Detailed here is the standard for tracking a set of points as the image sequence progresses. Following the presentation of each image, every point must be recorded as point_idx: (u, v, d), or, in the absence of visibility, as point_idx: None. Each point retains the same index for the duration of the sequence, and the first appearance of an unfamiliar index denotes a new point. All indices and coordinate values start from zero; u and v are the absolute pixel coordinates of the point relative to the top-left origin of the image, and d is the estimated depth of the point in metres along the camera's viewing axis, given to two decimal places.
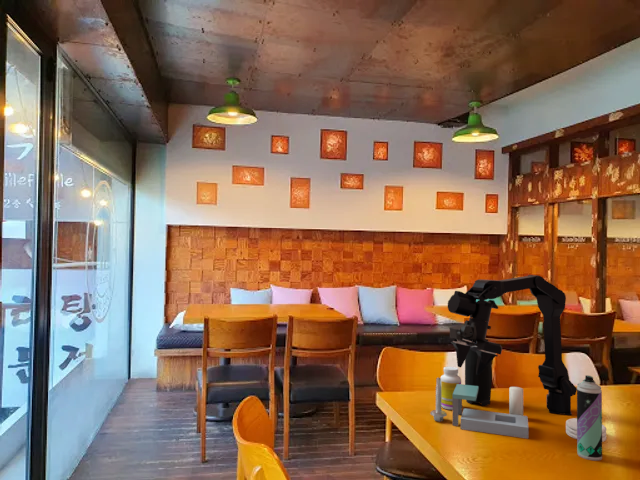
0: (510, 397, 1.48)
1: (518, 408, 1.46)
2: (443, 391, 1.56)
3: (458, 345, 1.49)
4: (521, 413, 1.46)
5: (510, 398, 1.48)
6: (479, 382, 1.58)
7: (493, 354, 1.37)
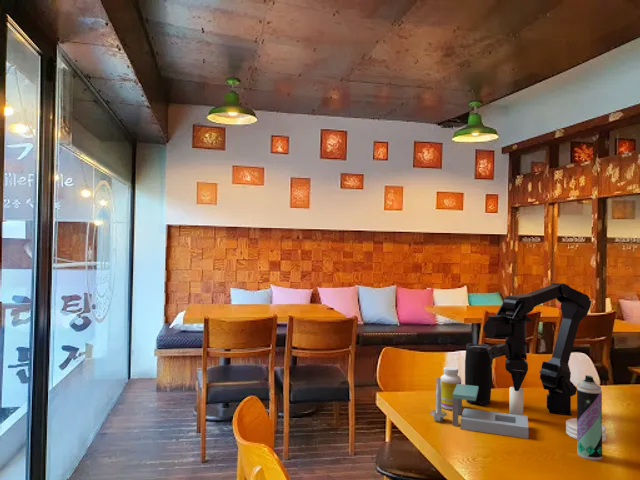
0: (510, 397, 1.48)
1: (518, 408, 1.46)
2: (443, 391, 1.56)
3: None
4: (521, 413, 1.46)
5: (510, 398, 1.48)
6: (479, 382, 1.58)
7: (521, 371, 1.40)
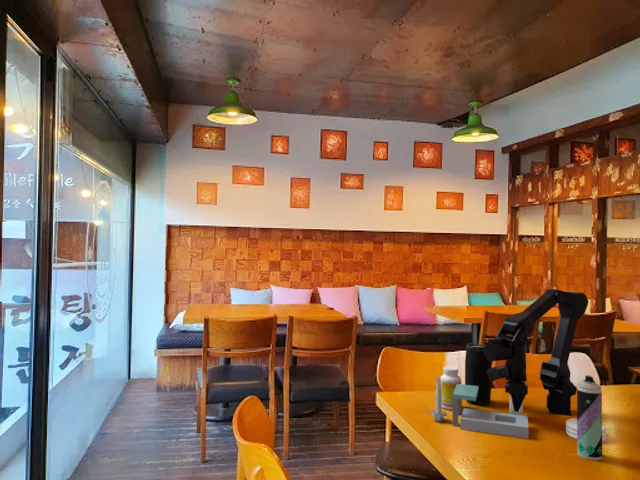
0: (510, 397, 1.48)
1: None
2: (443, 391, 1.56)
3: None
4: (521, 413, 1.46)
5: (510, 398, 1.48)
6: (479, 382, 1.58)
7: None
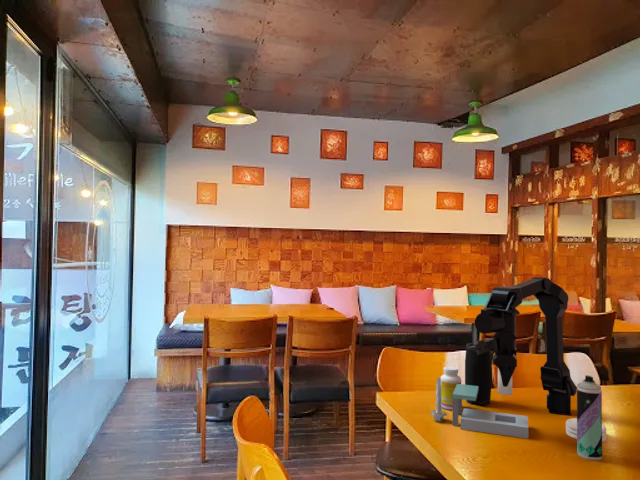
0: (498, 371, 1.38)
1: None
2: (443, 391, 1.56)
3: None
4: (510, 388, 1.36)
5: (498, 372, 1.38)
6: (479, 382, 1.58)
7: None
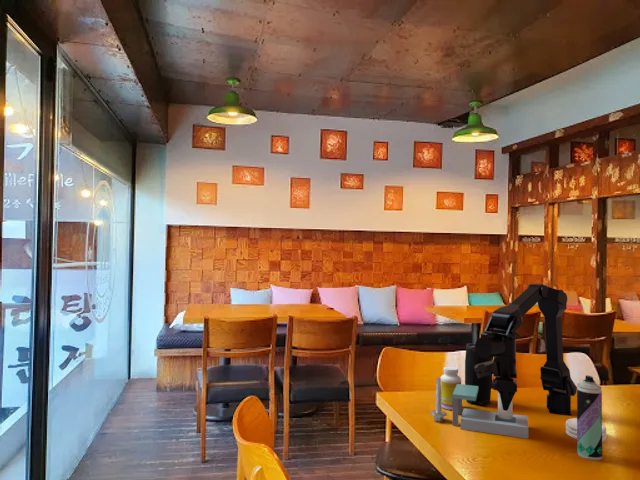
0: (499, 395, 1.38)
1: None
2: (443, 391, 1.56)
3: None
4: (510, 412, 1.36)
5: (499, 396, 1.38)
6: (479, 382, 1.58)
7: None
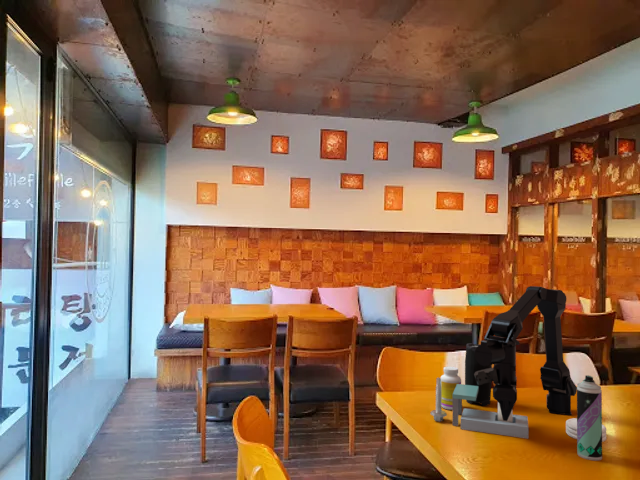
0: (498, 407, 1.38)
1: None
2: (443, 391, 1.56)
3: None
4: None
5: (498, 408, 1.38)
6: None
7: (509, 400, 1.30)
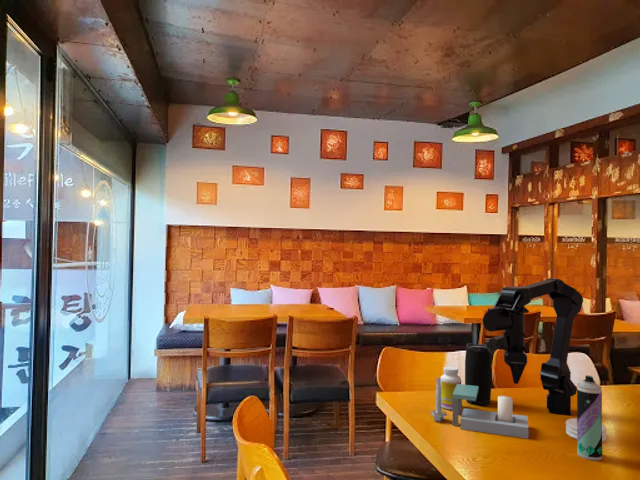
0: (498, 407, 1.38)
1: (507, 419, 1.36)
2: (443, 391, 1.56)
3: None
4: None
5: (498, 408, 1.38)
6: (479, 382, 1.58)
7: (520, 363, 1.38)
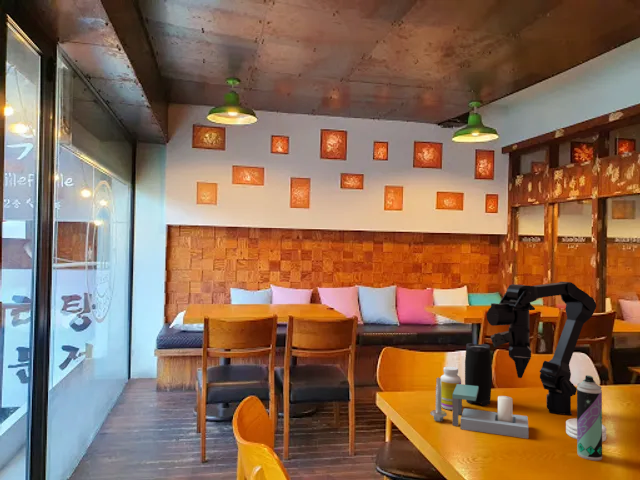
0: (498, 407, 1.38)
1: (507, 419, 1.36)
2: (443, 391, 1.56)
3: None
4: None
5: (498, 408, 1.38)
6: (479, 382, 1.58)
7: (524, 357, 1.42)
